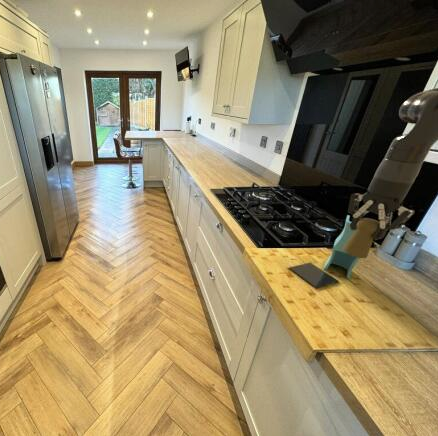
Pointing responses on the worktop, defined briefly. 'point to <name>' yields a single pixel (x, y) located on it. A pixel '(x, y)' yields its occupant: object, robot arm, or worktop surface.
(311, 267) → the slate coaster
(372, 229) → the cork
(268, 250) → the worktop surface
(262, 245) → the worktop surface
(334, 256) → the teal waisted stand
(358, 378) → the worktop surface
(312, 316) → the worktop surface
